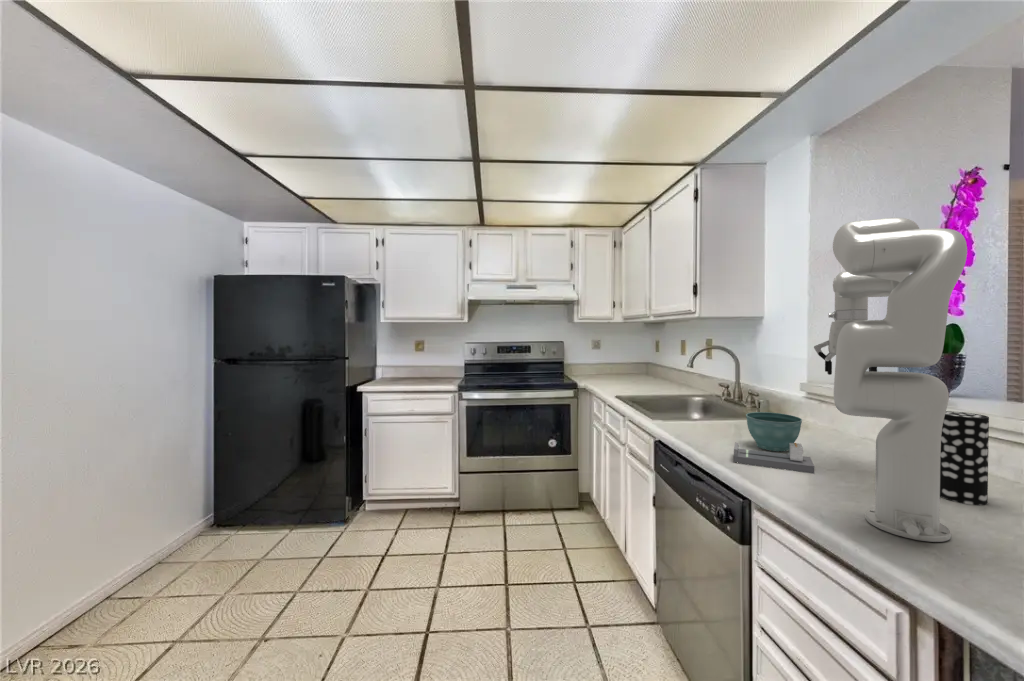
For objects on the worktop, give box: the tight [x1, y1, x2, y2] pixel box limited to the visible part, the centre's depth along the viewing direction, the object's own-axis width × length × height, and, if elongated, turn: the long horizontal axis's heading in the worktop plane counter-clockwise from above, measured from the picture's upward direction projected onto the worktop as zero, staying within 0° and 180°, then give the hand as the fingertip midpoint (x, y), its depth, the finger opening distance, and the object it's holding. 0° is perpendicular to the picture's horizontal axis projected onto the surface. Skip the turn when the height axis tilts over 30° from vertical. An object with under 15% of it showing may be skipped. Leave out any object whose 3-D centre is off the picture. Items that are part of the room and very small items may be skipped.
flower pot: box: [745, 411, 803, 453], centre depth 141 cm, size 16×16×11 cm
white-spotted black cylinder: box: [940, 410, 990, 506], centre depth 99 cm, size 8×8×20 cm
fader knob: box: [788, 442, 804, 462], centre depth 123 cm, size 5×3×4 cm, turn 150°
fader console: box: [733, 442, 815, 474], centre depth 126 cm, size 10×20×4 cm, turn 60°
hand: (850, 375), depth 121 cm, fingers open, 9 cm apart
